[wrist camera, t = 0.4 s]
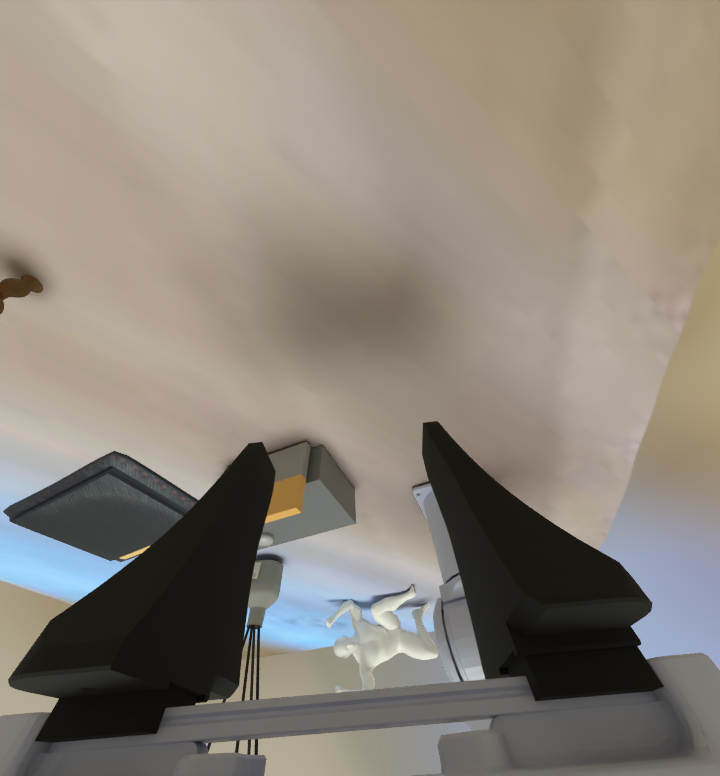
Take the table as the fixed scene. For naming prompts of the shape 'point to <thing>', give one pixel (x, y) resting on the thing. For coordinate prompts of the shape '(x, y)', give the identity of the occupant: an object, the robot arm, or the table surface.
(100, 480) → the wallet
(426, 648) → the person figurine
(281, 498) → the side hatch
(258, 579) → the reed diffuser
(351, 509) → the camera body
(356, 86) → the table surface
